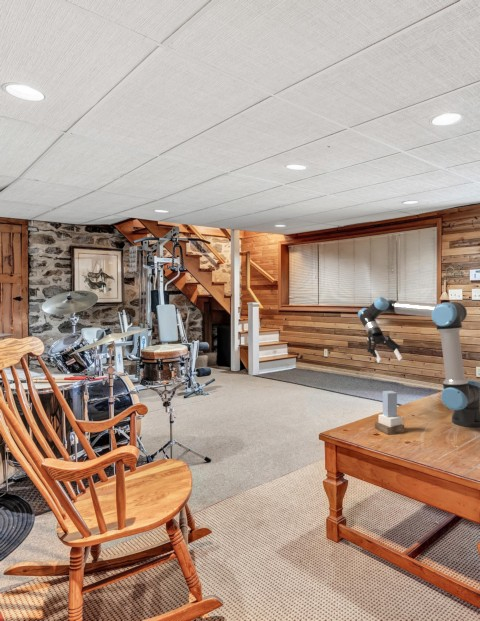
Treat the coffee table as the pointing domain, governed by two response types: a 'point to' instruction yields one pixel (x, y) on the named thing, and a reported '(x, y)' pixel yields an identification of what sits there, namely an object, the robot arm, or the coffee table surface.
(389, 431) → the walnut tower slab
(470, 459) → the coffee table surface
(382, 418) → the cream tower block
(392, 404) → the slate-blue pillar
